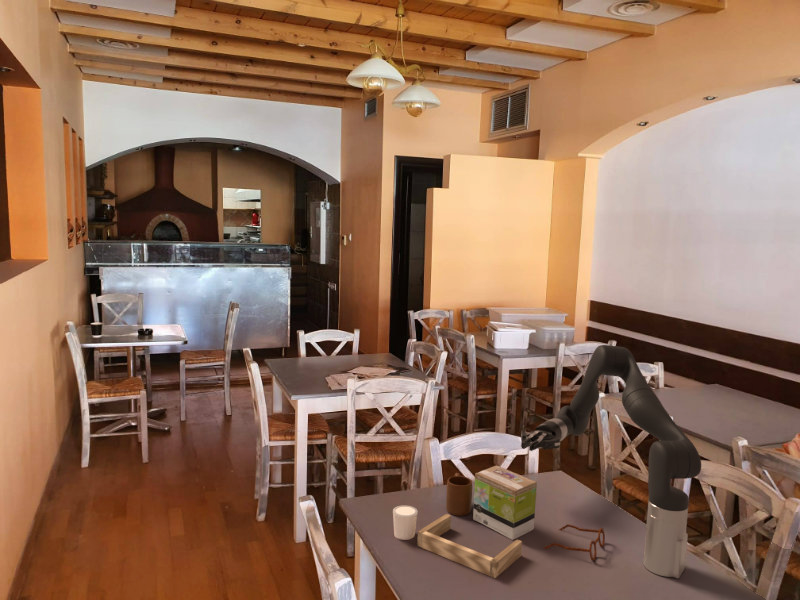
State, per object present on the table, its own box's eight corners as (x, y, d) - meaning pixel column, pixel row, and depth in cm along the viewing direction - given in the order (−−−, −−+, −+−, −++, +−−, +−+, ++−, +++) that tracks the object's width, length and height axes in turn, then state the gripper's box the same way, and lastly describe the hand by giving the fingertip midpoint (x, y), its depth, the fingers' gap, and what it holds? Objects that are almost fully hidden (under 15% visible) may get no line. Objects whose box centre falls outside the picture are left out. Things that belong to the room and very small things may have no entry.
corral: (521, 555, 164) (522, 541, 164) (495, 578, 154) (495, 562, 153) (446, 527, 179) (446, 513, 178) (417, 545, 168) (417, 531, 167)
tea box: (471, 520, 183) (473, 472, 181) (494, 511, 190) (496, 463, 188) (512, 541, 172) (515, 489, 170) (535, 530, 179) (538, 480, 177)
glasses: (592, 565, 162) (593, 546, 161) (543, 549, 169) (544, 532, 168) (605, 543, 173) (606, 526, 172) (558, 530, 180) (560, 513, 179)
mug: (443, 498, 197) (444, 469, 196) (467, 498, 197) (469, 470, 196) (447, 516, 185) (448, 485, 184) (472, 516, 185) (474, 486, 184)
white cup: (395, 542, 169) (396, 517, 169) (389, 530, 176) (389, 506, 175) (420, 539, 171) (420, 515, 170) (412, 527, 178) (413, 503, 177)
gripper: (532, 416, 205) (506, 429, 192) (572, 425, 197) (548, 439, 183) (530, 438, 206) (505, 452, 193) (571, 448, 198) (547, 464, 184)
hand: (526, 446), depth 188 cm, fingers closed
